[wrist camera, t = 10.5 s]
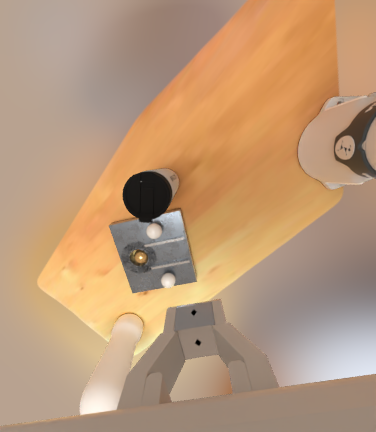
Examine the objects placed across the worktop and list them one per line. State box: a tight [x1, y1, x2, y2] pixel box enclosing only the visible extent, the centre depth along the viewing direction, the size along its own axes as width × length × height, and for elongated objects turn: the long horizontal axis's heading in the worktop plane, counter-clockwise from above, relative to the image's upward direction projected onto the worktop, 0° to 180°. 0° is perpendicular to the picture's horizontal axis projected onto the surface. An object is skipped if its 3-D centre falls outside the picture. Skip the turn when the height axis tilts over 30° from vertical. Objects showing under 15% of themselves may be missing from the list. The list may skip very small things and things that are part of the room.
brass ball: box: [134, 249, 148, 263], centre depth 45 cm, size 4×4×4 cm
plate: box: [109, 208, 197, 293], centre depth 45 cm, size 17×19×3 cm
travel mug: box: [123, 168, 179, 223], centre depth 32 cm, size 6×7×20 cm
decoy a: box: [161, 273, 176, 288], centre depth 44 cm, size 4×4×4 cm
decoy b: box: [146, 223, 162, 239], centre depth 41 cm, size 4×4×4 cm
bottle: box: [80, 313, 143, 415], centre depth 38 cm, size 8×8×30 cm
